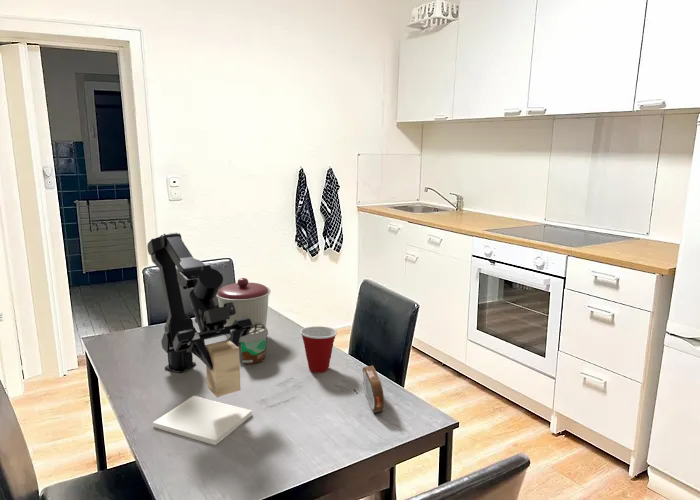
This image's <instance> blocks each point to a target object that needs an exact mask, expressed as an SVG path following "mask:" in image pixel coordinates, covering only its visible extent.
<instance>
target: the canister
mask: <svg viewBox="0 0 700 500" xmlns="http://www.w3.org/2000/svg"><path fill="white" fill-rule="evenodd" d="M270 294H271V289H270V288H269V287H267V286H266V285H264V284H262V283H258V282H249V280H248V278H246V277H240V278H239V279H238V280H237V282H236V283H231V284H227V285H224V286H222V287H220V289H219V291H218V293H217V295H216V296H215V297H216V298H217V300H218V305H219V307H224V304H226V303H229V302H233V304H234V307H235V310H236V314H235V315H232V316H230V319H229V320H228V319H227V320H226V321H227V323H226V324H225V325H224V327H227V326H231V325H232V324H233V323H234V321H235V320H236V319H241V318H246V317H248V318H249V319H251V321H252V323H253V326H254V325H255V322H259V323H263V324H265V325H266V326H267V319H268V307H269V296H270ZM224 336H225V338H226V340H228V339H229V336H228V334H227V335H224ZM239 344H241V342H240V339H239Z"/></svg>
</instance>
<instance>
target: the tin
mask: <svg viewBox="0 0 700 500" xmlns="http://www.w3.org/2000/svg"><path fill="white" fill-rule="evenodd" d="M362 373H363V383H362V385H363V391H364V393H365V397H366V400H367V402H368V404H369V408H370V410H371V412H373V413H380V412H384V411H385V397H384V390H383V385H382V382H381V379H380V377H379V375H378V373H377V370H376V368H375V367H374V365H368V366H364V367H363V368H362Z"/></svg>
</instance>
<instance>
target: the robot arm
mask: <svg viewBox="0 0 700 500" xmlns="http://www.w3.org/2000/svg"><path fill="white" fill-rule="evenodd" d="M182 239H183V238H182V235H181V233H178V232H170V233H163V234H161V235H159V236H158V237H156V238H151V239H150V241H148V243H147V253H148V255H149V256H150V258H151V262H153V264H154V266H156V267H157V268H158V269H159V274H160V280H161V285H162V291H163V296H164V302H165V306H166V312H167V316H168V317H167V319H166V323H165V325H164V332H163V335H162V338H161V347H162V349H163V350H164V351H165V353H167V362H168V365H166V366H164V369H165V370H168V371H173V372H177V373H184V371H187V370H188V369H190V368H192V367H194V366H196V364H197V363H196V362H195V361H194V360H193V355H194V356H196V357H197V358H198V359H199V360H200V361H202V363H203V364H204V365H205V367H206V366H207V367H208V368H209V369H210V370H212V369H213V365H212V362H211V359H210V357H209V354H208V352H207V349H206V347H205V345H206V344H205V340H209V339H213V338H217V337H222V336H225V335H227V334H228V336H229V339H227V340H230V341H231V342H232V343H234V344H235V345H236V346H237V347H239V348H240V346H239V344H240V343H239V339H240V337H243V336H246V335H248V333H249V332H250V330H251V329H252V327H253V323H252V321H251V319H249V318H248V317H246V318H241V319H236V320H235V321H234V323H233V324H232V325H231V326H227V327H224V325H225V324H226V323H227V321H226V320H227V319H228V320H229V319H230V316H232V315H235V314H236V310H235V307H234V304H233V302H229V303H226V304H224V307H219V304H217V302H216V300H215V297H216V295H217V293H218V291H219V289H221V288H222V287H221V286H222V284H223V281H224V276H223V274H222V273H220V271H219V270H217V269H214V268H212V267H211V265H210V264H207V265H206V264H205V263H204V262H203V261H202V260H200V259H196V258H195V257H193V255H192V253H191V252H190V250H189V249H188V247H187V246H186V244H185V242H184V241H183V240H182ZM180 287H181V288H182V289H183V290H189V289H191V291H190V292H189V294H188V302H189V304H190V306H191V308H192V312H193V314H194V317H195V318H194V322H195V324H197V327H198V330H199V332H198V331H197V329H196V328H195V326H194V322H193V319H192V318H191V317H189V316H188V315H187V314H186V312H185V309H184V304H183V297H182V293H181V292H182V291H181V289H180Z"/></svg>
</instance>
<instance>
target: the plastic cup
mask: <svg viewBox="0 0 700 500" xmlns="http://www.w3.org/2000/svg"><path fill="white" fill-rule="evenodd" d="M299 331H300V335H301V338H302V340H303V341H302V342H303V346H304V350H305V357H306V361H307V365H308V366H307V367H308V370H309V371H310V372H311V373H315V374H318V373H319V374H321V373H326V372H328V370H329V368H330V364H331V363H330V362H331V358H332V353H333V347H334V342H335V339H336V336H337V335H338V331H337V330H336V329H334V328H332V327H328V326H322V325H321V326H319V325H318V326H307V327H304V328H301V329H300V330H299Z"/></svg>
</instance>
